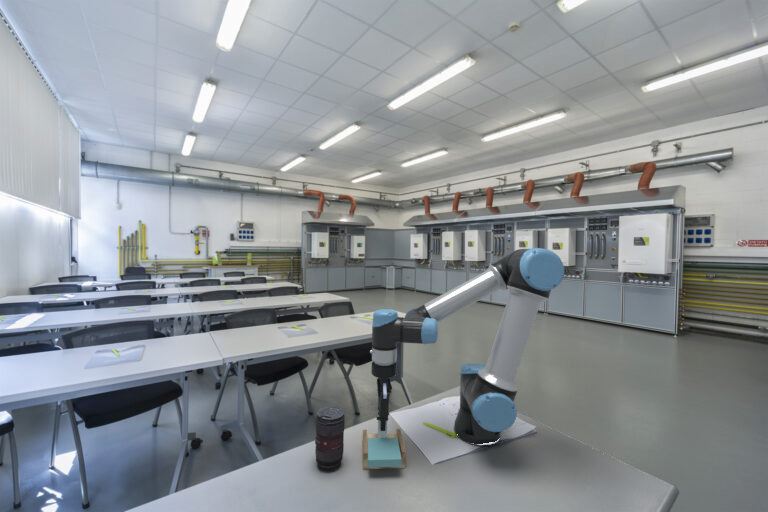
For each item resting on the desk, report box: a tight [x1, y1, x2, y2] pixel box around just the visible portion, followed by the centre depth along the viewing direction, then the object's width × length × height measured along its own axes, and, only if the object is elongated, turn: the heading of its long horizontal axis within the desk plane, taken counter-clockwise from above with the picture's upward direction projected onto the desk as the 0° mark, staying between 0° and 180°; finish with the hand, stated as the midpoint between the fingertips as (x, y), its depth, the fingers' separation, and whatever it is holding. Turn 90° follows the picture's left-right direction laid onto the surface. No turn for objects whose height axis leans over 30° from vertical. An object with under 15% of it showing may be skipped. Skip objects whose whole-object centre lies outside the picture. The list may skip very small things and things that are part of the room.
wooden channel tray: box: [361, 428, 407, 470], centre depth 94 cm, size 12×12×4 cm
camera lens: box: [314, 405, 346, 473], centre depth 90 cm, size 8×8×15 cm
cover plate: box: [367, 438, 401, 468], centre depth 90 cm, size 9×10×2 cm
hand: (382, 438), depth 95 cm, fingers closed
